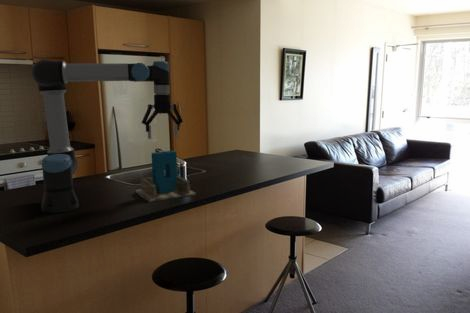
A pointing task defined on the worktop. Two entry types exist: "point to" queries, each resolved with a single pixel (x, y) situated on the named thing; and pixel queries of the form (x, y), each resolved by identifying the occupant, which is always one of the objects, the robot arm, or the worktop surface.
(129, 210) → the worktop surface
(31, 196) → the worktop surface
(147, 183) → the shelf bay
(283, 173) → the worktop surface
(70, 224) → the worktop surface
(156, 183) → the block
